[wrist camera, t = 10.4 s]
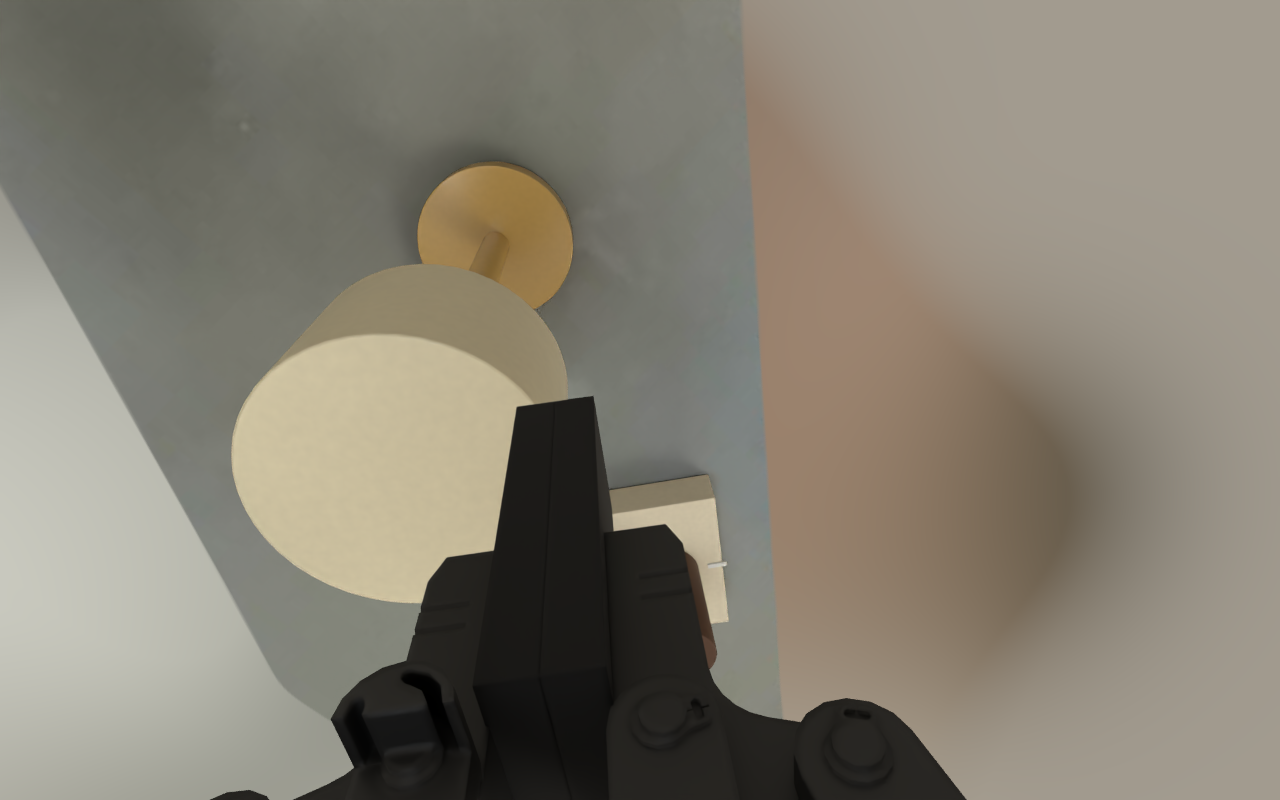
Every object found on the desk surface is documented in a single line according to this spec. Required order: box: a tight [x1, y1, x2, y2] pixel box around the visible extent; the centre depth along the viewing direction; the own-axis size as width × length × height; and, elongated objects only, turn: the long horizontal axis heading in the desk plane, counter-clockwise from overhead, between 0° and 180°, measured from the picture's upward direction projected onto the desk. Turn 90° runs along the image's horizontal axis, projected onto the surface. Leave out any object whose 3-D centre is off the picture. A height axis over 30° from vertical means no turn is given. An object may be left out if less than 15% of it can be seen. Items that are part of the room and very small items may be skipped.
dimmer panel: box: [609, 475, 729, 624], centre depth 53 cm, size 9×12×3 cm
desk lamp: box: [231, 161, 573, 603], centre depth 31 cm, size 9×9×26 cm
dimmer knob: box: [685, 552, 717, 669], centre depth 48 cm, size 4×4×8 cm
